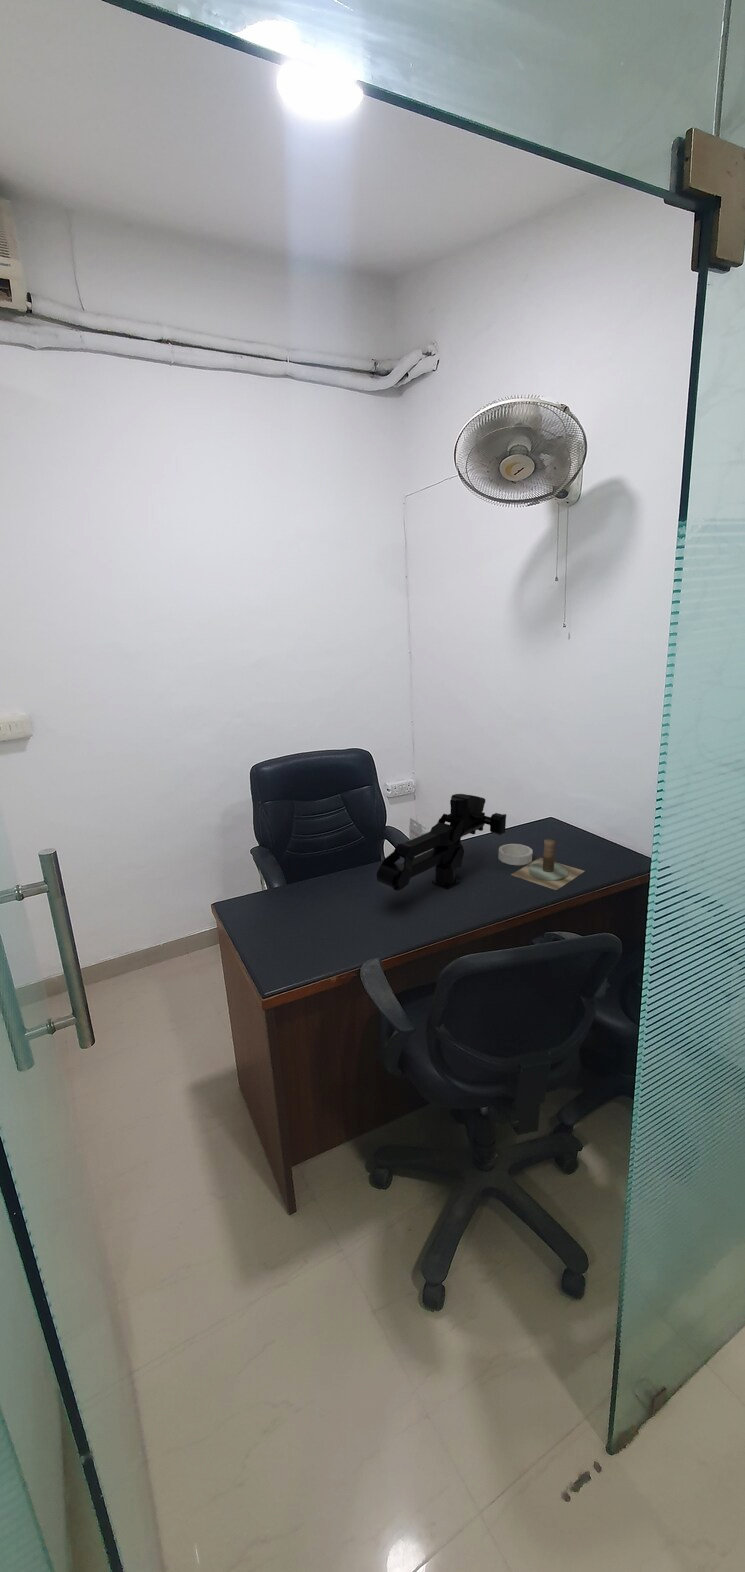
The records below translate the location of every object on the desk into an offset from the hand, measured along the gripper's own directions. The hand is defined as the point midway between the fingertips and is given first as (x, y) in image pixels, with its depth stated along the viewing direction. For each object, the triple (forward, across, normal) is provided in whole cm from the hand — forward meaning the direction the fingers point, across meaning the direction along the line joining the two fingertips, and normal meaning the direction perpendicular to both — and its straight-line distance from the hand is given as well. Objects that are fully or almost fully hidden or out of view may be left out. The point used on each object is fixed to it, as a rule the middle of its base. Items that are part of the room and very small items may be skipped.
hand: (494, 812), depth 201 cm
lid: (+2, -20, +16) cm, 26 cm away
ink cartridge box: (-17, +17, +17) cm, 30 cm away
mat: (+2, -20, +16) cm, 26 cm away
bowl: (+5, -6, +16) cm, 18 cm away
